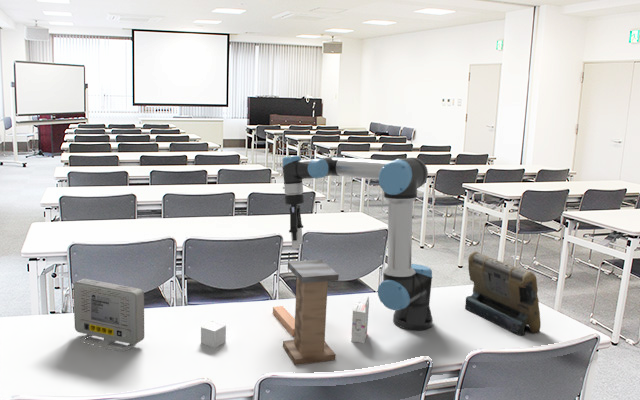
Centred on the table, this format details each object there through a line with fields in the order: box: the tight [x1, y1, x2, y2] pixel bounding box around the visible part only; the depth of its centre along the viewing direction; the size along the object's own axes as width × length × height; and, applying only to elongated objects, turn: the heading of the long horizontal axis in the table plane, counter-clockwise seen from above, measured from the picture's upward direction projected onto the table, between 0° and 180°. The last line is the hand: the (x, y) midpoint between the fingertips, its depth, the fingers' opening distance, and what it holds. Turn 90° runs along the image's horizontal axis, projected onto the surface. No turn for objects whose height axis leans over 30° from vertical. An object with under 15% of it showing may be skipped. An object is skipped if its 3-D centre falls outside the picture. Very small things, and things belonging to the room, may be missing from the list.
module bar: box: [272, 305, 295, 337], centre depth 214 cm, size 22×4×3 cm, turn 24°
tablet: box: [464, 250, 542, 336], centre depth 226 cm, size 33×14×25 cm, turn 35°
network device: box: [72, 278, 145, 352], centre depth 191 cm, size 26×9×20 cm, turn 71°
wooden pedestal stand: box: [282, 259, 339, 366], centre depth 189 cm, size 16×14×30 cm
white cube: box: [200, 320, 227, 349], centre depth 196 cm, size 6×6×6 cm
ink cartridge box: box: [350, 296, 370, 344], centre depth 204 cm, size 9×5×15 cm, turn 168°
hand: (297, 246), depth 231 cm, fingers open, 13 cm apart
